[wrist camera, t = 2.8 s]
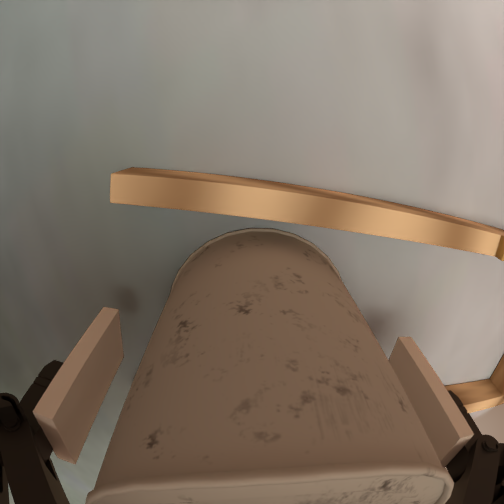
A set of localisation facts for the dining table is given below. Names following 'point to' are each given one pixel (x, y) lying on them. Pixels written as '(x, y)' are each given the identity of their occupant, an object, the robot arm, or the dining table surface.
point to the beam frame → (318, 225)
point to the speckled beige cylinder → (266, 392)
